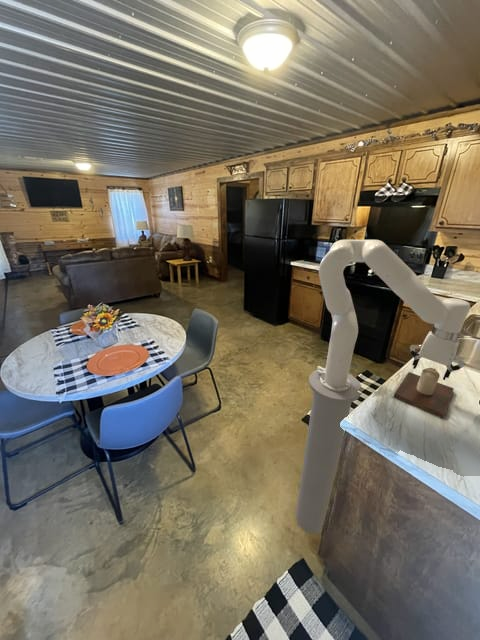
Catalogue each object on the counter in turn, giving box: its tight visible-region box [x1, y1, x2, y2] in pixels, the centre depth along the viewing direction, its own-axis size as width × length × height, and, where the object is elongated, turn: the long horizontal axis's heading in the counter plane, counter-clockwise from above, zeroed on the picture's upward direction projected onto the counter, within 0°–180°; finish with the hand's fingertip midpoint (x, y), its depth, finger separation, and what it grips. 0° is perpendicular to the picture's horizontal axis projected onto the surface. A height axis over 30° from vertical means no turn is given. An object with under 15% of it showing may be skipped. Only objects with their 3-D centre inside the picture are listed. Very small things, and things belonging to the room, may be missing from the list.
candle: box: [417, 367, 441, 395], centre depth 101 cm, size 6×6×10 cm
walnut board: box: [393, 371, 454, 419], centre depth 104 cm, size 16×20×2 cm
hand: (429, 372), depth 100 cm, fingers open, 9 cm apart
